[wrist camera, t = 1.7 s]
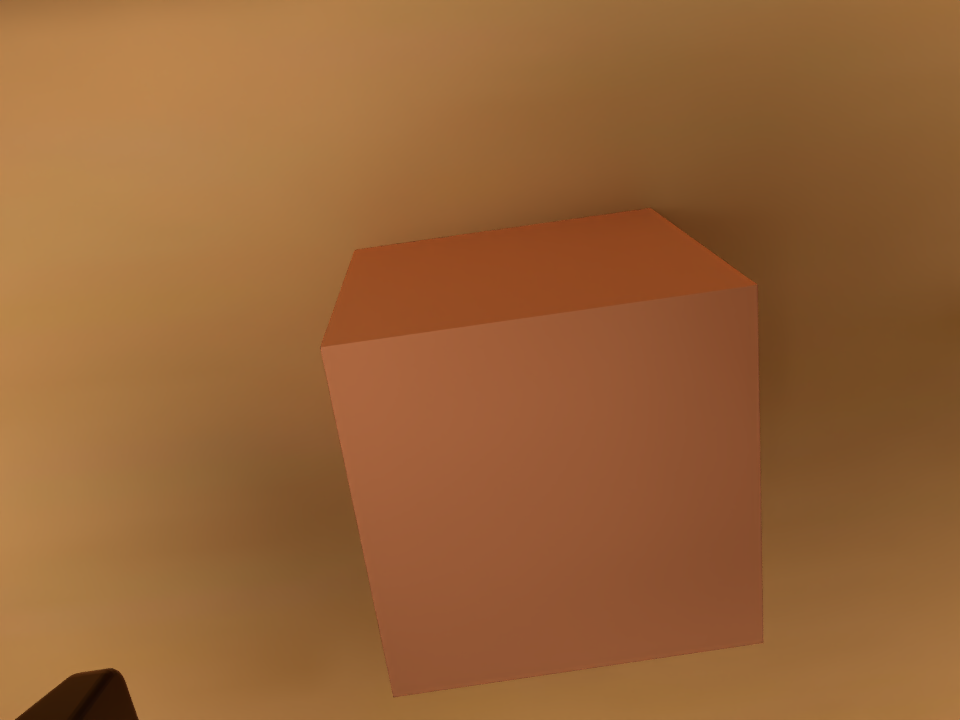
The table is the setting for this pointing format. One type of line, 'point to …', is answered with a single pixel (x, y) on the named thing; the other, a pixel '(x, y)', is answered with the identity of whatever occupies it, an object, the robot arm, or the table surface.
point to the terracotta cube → (551, 447)
